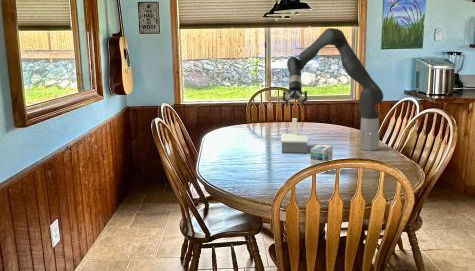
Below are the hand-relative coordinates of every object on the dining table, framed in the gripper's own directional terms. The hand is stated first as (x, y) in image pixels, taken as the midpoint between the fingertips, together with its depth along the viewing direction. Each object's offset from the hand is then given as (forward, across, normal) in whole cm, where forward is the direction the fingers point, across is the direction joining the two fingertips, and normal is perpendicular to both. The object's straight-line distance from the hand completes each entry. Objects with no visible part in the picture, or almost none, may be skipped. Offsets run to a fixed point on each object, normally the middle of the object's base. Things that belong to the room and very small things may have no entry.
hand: (294, 106), depth 250 cm
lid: (+25, 0, -2) cm, 25 cm away
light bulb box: (+56, +12, -26) cm, 64 cm away
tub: (+29, 0, +1) cm, 29 cm away
